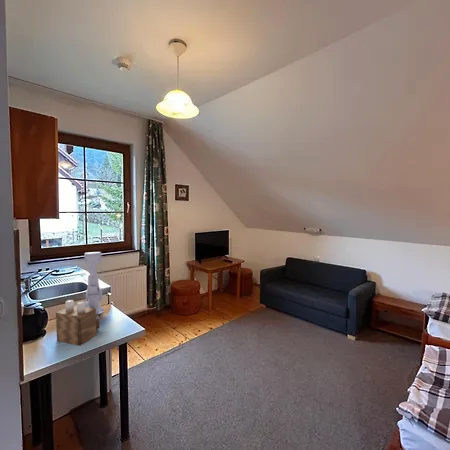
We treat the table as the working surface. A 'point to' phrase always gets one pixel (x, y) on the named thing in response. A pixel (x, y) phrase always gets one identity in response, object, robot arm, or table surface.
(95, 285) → the robot arm
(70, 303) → the tumblers
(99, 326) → the food container
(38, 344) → the table surface
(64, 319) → the wooden bottle crate
